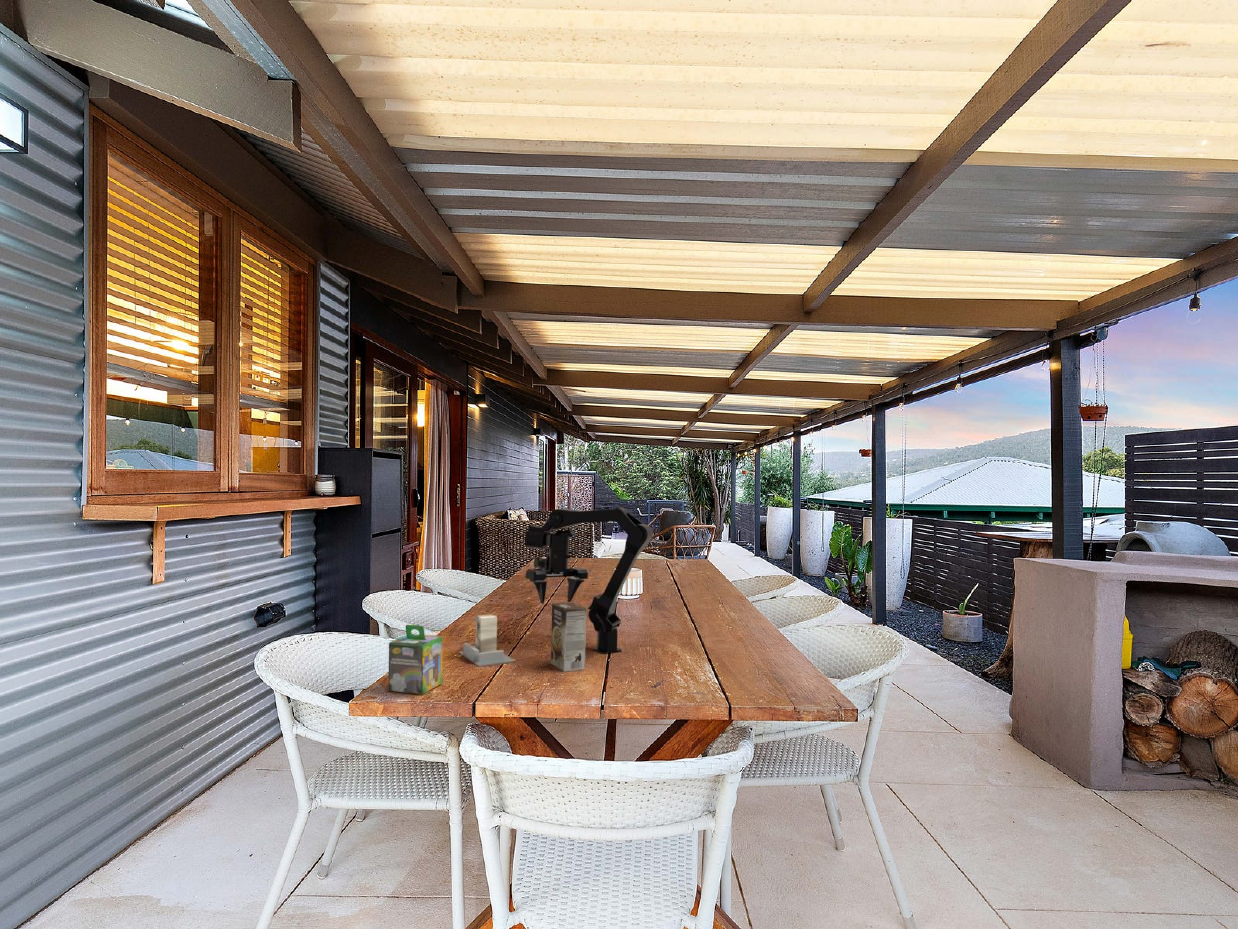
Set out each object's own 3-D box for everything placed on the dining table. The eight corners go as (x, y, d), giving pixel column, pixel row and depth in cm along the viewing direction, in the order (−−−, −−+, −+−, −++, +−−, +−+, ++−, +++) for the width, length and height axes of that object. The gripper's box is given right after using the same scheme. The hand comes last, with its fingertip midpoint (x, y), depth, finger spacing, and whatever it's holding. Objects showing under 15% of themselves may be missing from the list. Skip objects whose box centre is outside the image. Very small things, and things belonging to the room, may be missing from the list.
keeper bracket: (515, 662, 182) (515, 649, 183) (479, 667, 177) (479, 653, 177) (493, 649, 196) (494, 637, 196) (459, 653, 191) (459, 641, 191)
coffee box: (549, 663, 182) (551, 603, 182) (571, 661, 185) (572, 601, 185) (563, 672, 174) (564, 609, 174) (586, 669, 177) (587, 607, 177)
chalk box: (443, 684, 161) (444, 622, 162) (421, 696, 152) (423, 629, 153) (409, 680, 164) (410, 619, 164) (386, 691, 155) (388, 626, 155)
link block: (496, 657, 186) (497, 617, 186) (479, 659, 183) (480, 618, 184) (490, 653, 190) (491, 614, 190) (474, 655, 187) (475, 615, 188)
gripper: (571, 547, 214) (568, 597, 214) (518, 547, 204) (515, 599, 203) (590, 551, 205) (587, 603, 205) (536, 552, 195) (532, 606, 194)
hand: (555, 603), depth 202 cm, fingers open, 9 cm apart
